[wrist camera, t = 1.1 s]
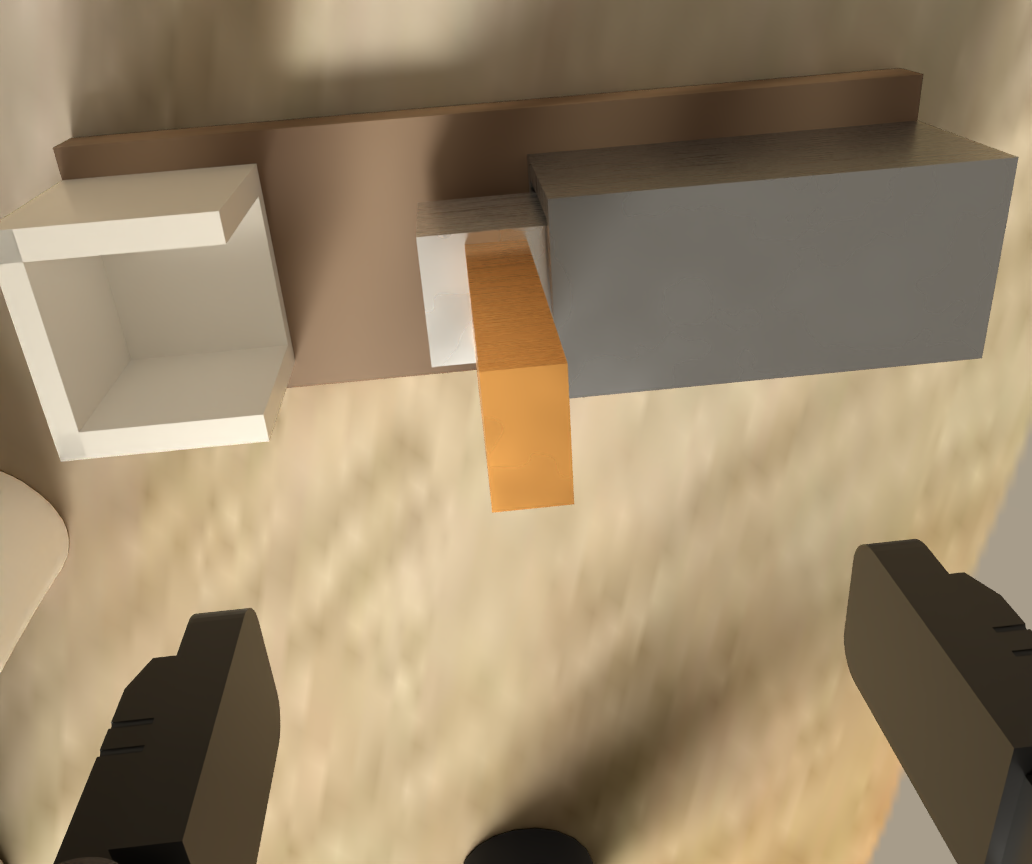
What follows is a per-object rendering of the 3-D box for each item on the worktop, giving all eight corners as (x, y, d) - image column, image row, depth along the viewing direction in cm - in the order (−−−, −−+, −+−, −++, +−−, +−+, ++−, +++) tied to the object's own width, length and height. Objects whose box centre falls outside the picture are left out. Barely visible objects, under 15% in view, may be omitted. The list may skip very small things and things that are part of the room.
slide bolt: (910, 159, 27) (1199, 287, 17) (895, 276, 29) (1149, 457, 19) (417, 202, 27) (410, 363, 16) (431, 319, 28) (432, 531, 18)
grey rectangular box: (917, 120, 28) (1018, 157, 23) (894, 293, 30) (981, 358, 25) (526, 154, 27) (547, 198, 22) (537, 326, 30) (558, 399, 25)
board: (899, 68, 28) (923, 74, 27) (871, 314, 32) (889, 330, 31) (70, 138, 27) (53, 147, 26) (140, 383, 31) (127, 403, 30)
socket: (256, 163, 27) (218, 211, 22) (295, 361, 30) (269, 440, 25) (62, 180, 26) (-18, 231, 22) (120, 377, 29) (61, 461, 25)
